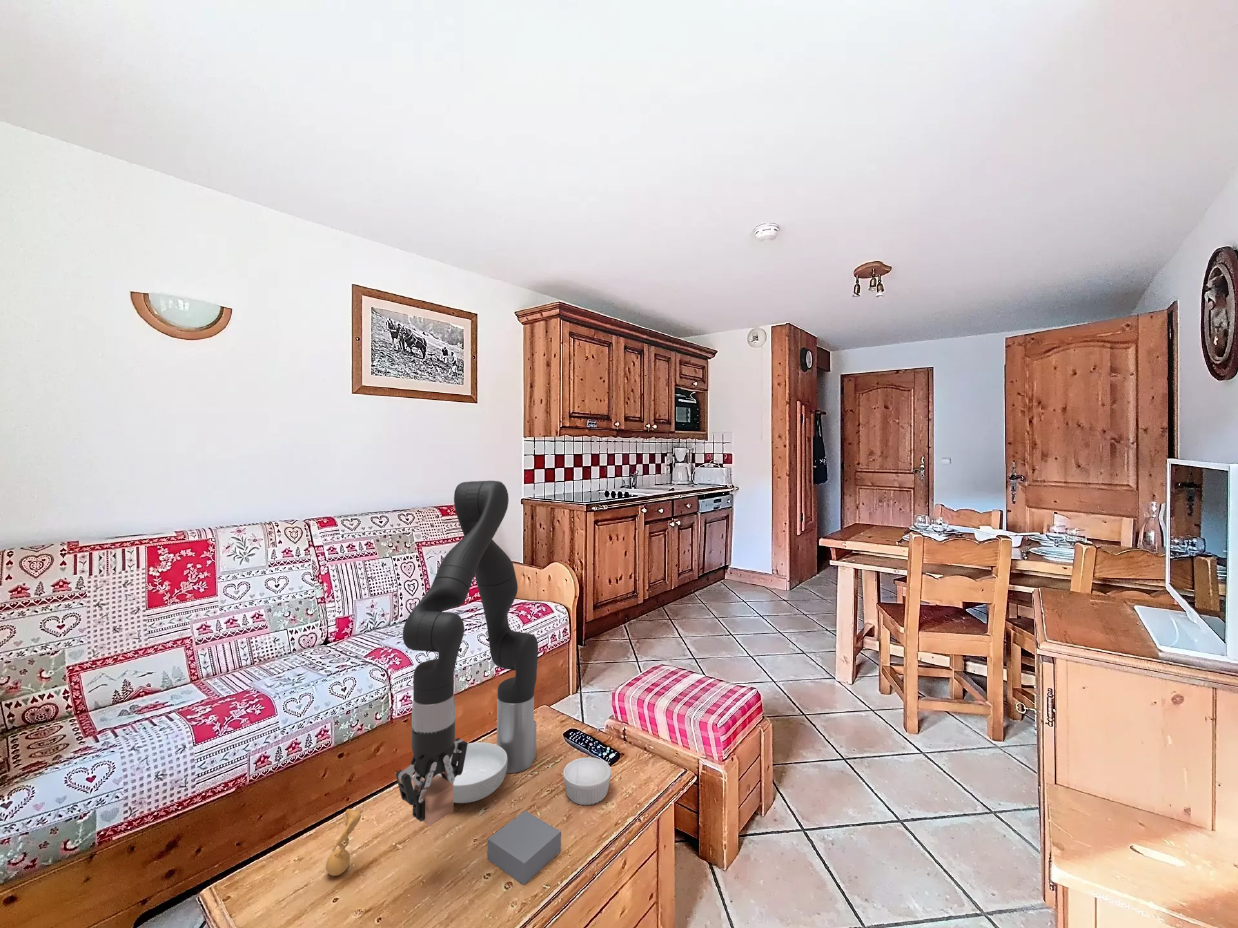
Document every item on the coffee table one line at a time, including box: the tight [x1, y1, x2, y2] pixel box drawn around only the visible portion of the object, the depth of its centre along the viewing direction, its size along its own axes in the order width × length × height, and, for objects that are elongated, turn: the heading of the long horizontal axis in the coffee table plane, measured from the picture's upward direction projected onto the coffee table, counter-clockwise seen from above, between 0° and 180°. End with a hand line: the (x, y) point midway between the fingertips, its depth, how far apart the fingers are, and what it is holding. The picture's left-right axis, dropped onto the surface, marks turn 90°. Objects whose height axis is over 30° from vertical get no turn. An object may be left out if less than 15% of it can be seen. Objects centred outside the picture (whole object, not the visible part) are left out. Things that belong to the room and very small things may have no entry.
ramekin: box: [562, 756, 612, 806], centre depth 119 cm, size 11×11×5 cm
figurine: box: [325, 808, 363, 877], centre depth 95 cm, size 8×6×12 cm
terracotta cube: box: [419, 774, 454, 827], centre depth 94 cm, size 5×5×5 cm
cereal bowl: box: [438, 741, 508, 804], centre depth 119 cm, size 17×17×7 cm
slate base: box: [486, 810, 562, 886], centre depth 100 cm, size 10×10×4 cm
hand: (433, 809), depth 94 cm, fingers closed on terracotta cube, 5 cm apart
